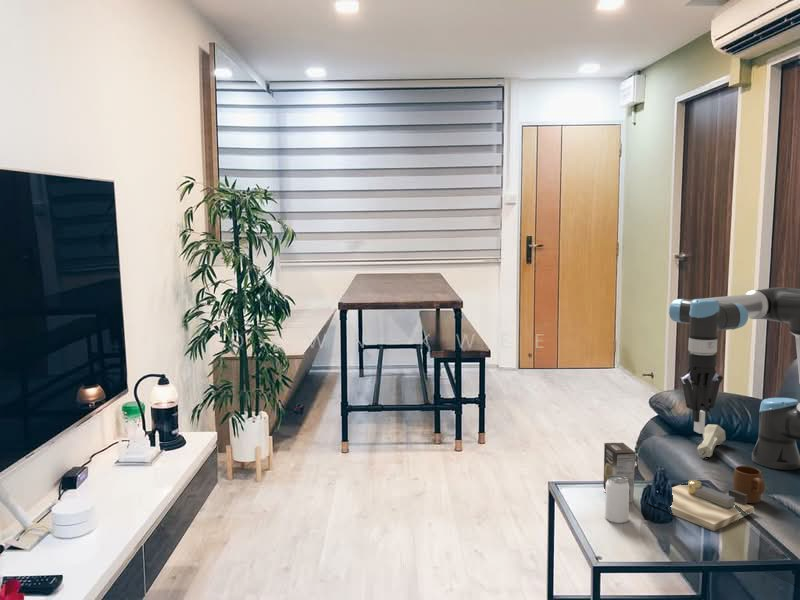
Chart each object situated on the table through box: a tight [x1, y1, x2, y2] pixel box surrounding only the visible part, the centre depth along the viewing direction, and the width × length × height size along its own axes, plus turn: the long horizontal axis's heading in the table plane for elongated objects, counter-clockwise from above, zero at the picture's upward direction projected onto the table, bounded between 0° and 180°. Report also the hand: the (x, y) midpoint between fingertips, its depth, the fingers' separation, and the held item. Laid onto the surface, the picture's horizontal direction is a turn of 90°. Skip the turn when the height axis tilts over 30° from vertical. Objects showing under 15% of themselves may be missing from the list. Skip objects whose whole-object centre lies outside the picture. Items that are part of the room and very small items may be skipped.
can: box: [604, 476, 630, 524], centre depth 189 cm, size 6×6×12 cm
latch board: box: [670, 484, 755, 532], centre depth 196 cm, size 20×22×5 cm
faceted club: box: [696, 423, 727, 458], centre depth 244 cm, size 9×8×25 cm
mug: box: [732, 465, 766, 504], centre depth 199 cm, size 12×8×9 cm, turn 1°
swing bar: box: [687, 479, 735, 508], centre depth 197 cm, size 14×4×3 cm, turn 30°
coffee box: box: [602, 442, 636, 503], centre depth 204 cm, size 9×6×16 cm
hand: (699, 432), depth 191 cm, fingers closed
